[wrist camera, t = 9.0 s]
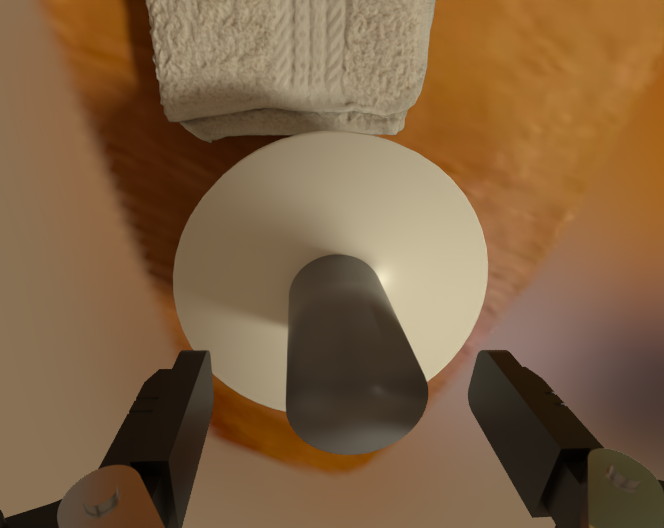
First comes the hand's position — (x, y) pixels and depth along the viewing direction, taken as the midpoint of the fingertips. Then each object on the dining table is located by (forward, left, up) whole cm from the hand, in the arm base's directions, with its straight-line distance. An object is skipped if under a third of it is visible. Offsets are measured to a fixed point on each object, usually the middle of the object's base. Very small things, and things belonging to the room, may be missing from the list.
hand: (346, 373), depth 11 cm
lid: (0, 0, -5) cm, 5 cm away
